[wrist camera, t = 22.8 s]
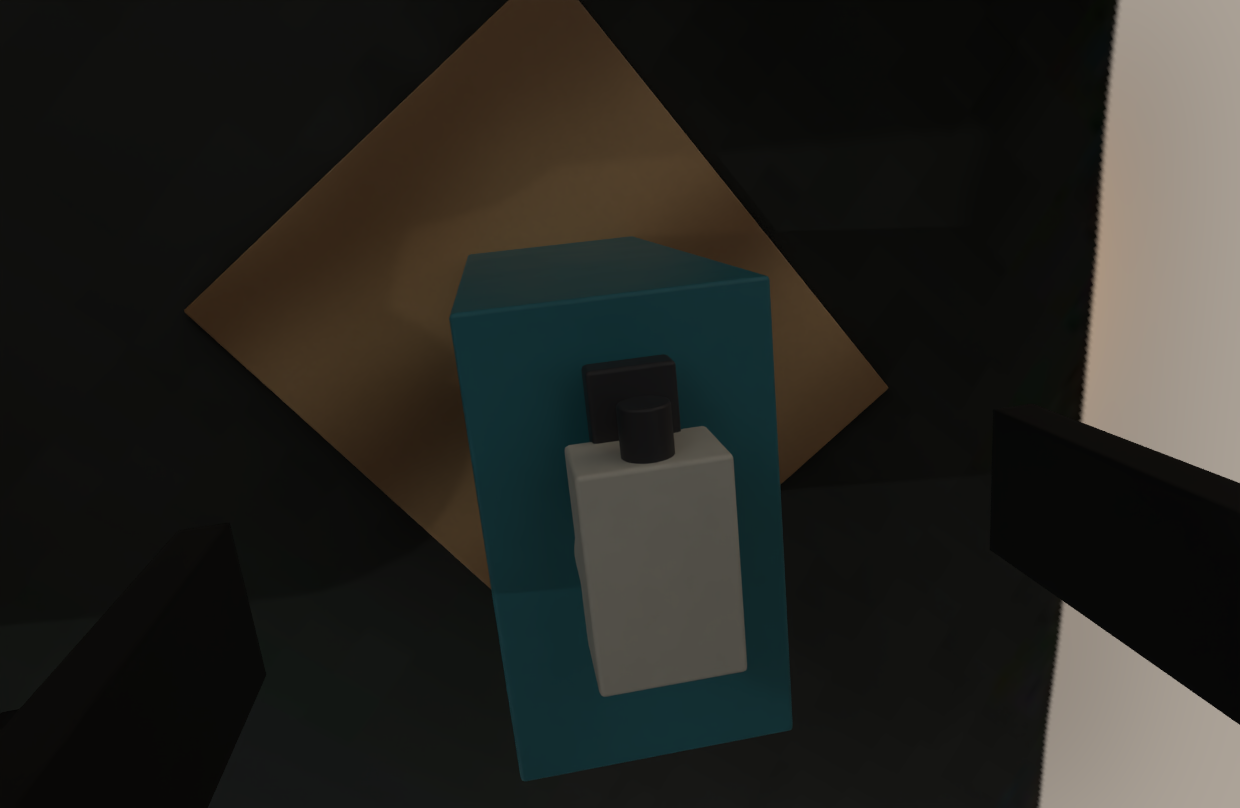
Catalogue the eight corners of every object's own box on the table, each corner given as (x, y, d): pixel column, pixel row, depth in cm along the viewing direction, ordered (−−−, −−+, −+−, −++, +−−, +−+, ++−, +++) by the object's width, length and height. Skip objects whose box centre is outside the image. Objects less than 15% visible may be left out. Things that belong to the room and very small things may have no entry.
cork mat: (187, 309, 28) (182, 311, 28) (547, -35, 28) (548, -39, 27) (575, 660, 34) (576, 667, 34) (883, 385, 33) (889, 388, 33)
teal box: (505, 516, 32) (467, 254, 29) (658, 492, 32) (634, 235, 30) (527, 892, 15) (439, 341, 12) (848, 824, 15) (830, 292, 13)
